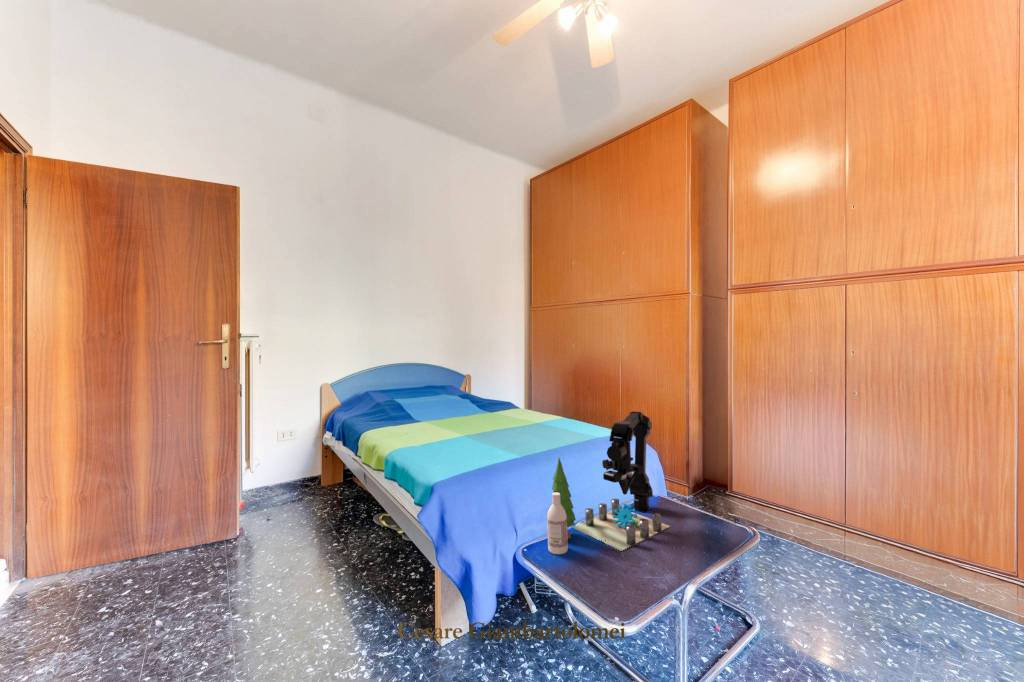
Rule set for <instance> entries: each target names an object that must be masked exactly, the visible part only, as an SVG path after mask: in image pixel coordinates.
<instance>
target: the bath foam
mask: <svg viewBox="0 0 1024 682" xmlns="http://www.w3.org/2000/svg"><path fill="white" fill-rule="evenodd" d="M553 492H554V491H553ZM553 492H552V493H551V502H552V503H551V505H550V506H549V509H548V511H547V515H546V518H547V519H546V523H547V525H546V526H547V548H548V549H547V550H548V552H550V553H551V554H553V555H564V554H566V553H567V552H568V550H569V549H568V548H569V547H568V544H569V543H568V542H569V541H568V540H569V539H567V530H568V528H567V516H566V512H565V510H564V508H563V507H562V505H561V503H560V493H558V492H554V493H553Z"/></svg>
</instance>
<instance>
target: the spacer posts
mask: <svg viewBox="0 0 1024 682" xmlns="http://www.w3.org/2000/svg"><path fill="white" fill-rule="evenodd" d="M610 503H611V512H612V515H613V514H615V515H616V516H618V514H617V513H615V512H614V510H615V509H617V510H618V512H619V508H618V506H619V505H620V499H618V498H611V502H610ZM607 506H608V505H607V504H606V503H603V502H600V503H598V517H599V520H601V521H607V513H608V507H607ZM584 511H585V522H586V526H589V527H592V526H594V518H595V517H594V509H593V508H591V507H590V508H585V510H584ZM651 516H652V517H651V519H652V521H653V531H654V532H660V533H662V532H663V531H662V527H661V523H662V515H661V514H660V513H657V512H656V513H655V512H653V513H652V515H651ZM640 537H641V538H643V539H646V540H648V539H650V538H649V521H648V520H647V519H640ZM626 540H627V544H628V545H630V546H632V547H634V546H636V545H637V544H636V535H635V526H633V525H627V526H626Z"/></svg>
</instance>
